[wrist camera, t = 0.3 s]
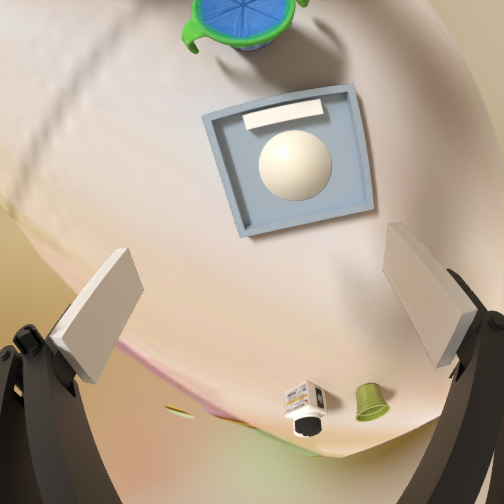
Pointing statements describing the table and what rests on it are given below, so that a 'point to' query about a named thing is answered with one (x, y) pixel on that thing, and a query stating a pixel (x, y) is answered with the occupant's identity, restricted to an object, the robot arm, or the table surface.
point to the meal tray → (292, 158)
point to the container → (305, 408)
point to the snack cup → (239, 22)
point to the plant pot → (370, 403)
